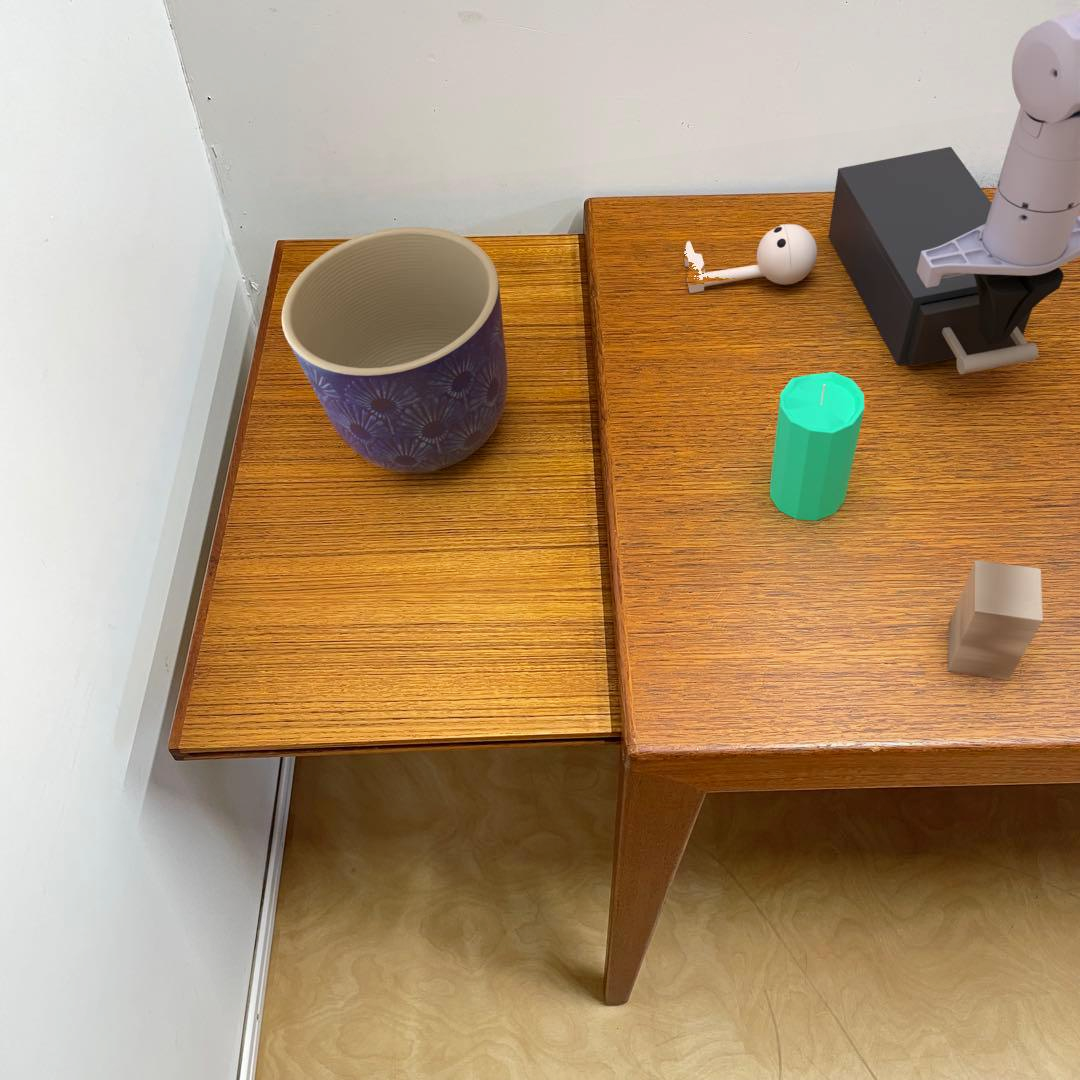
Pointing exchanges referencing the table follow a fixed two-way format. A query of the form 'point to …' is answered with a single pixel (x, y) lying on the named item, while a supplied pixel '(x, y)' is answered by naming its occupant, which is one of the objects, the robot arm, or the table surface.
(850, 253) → the cabinet
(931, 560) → the table surface
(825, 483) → the candle
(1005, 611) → the block
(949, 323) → the drawer
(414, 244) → the planter
